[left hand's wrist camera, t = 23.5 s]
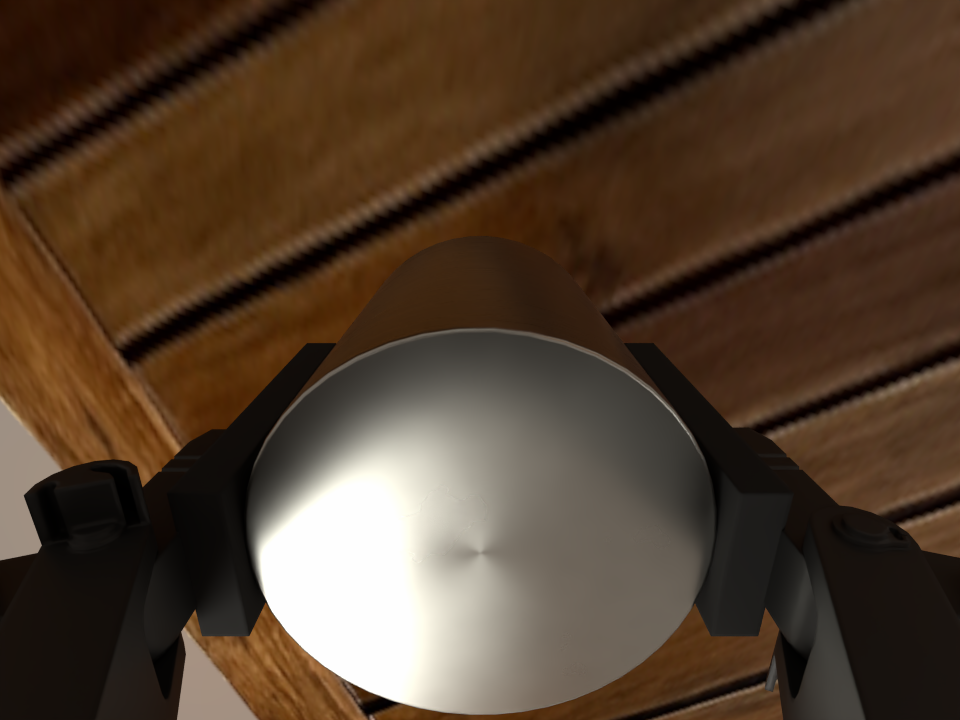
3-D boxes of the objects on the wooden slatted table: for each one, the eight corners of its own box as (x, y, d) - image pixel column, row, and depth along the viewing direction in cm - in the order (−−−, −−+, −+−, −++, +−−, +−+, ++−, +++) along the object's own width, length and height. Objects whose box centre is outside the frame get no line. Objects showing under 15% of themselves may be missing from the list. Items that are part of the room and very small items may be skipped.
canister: (559, 198, 15) (659, 249, 7) (623, 419, 17) (755, 657, 9) (322, 284, 16) (148, 425, 8) (415, 483, 18) (361, 754, 10)
